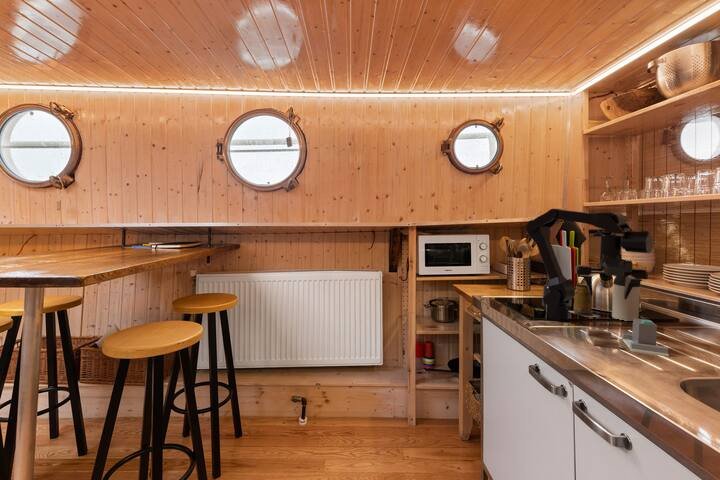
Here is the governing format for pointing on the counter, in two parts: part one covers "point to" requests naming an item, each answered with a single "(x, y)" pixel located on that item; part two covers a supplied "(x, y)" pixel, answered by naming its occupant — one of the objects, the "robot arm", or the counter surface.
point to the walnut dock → (602, 339)
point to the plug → (644, 332)
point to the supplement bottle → (545, 291)
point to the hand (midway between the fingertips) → (608, 297)
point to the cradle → (644, 346)
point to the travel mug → (625, 300)
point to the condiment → (582, 301)
